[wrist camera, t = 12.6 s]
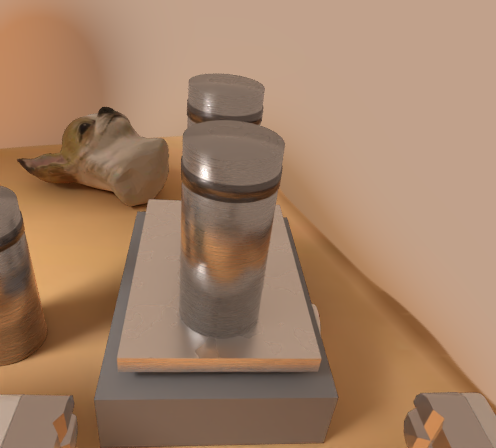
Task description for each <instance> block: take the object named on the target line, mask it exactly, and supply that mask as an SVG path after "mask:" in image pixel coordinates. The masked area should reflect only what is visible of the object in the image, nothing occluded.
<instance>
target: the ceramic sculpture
mask: <svg viewBox="0 0 496 448" xmlns="http://www.w3.org/2000/svg"><path fill="white" fill-rule="evenodd" d="M168 158H169V154H168V145H167V143H166V141H165V140H164V139H161V138H144V137H140V136H139V135H138V134H137V132H136V131H135V130H134V129H133V128H132V126H131V124H130V122H129V120H128V118H127V117H126V116H124V115H123V114H121V113H119V112H116V111H114V110H113V109H112V108H109V107H102V108H101V109H100V110H99V113H97V114H90V115H88V116H84V117H80V118H78V119H76V120H74V121H72V122H71V123H70V124H69V125H68V127H67V128H66V130H65V131H64V134H63V138H62V149H61V151H60V153H57V154H51V153H49V154H45V155H42V156H39V157H37V158H35V159H17V161H18V162H19V163H20V164H21V165H22V166H23V167H24V168H25V169H26V170H27V171H28V172H29V173H31V174H32V175H34V176H36V177H38V178H39V179H41V180H44V181H46V182H51V183H76V182H77V183H80V184H83V185H86V186H90V187H94V188H98V189H104V190H108V191H112V192H114V194H115V195H116V196H117V197H118V198H119V199H120V201H121V202H122V203H124V204H125V205H127V206H135V205H139V204H146V203H148V200H149V199H154V198H155V197H156V196H157V194H158V193H159V192H160V191H161V189H162V188H163V186H164V183H165V181H166V179H167V176H168V172H169V165H168Z"/></svg>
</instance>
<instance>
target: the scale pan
mask: <svg viewBox="0 0 496 448" xmlns="http://www.w3.org/2000/svg"><path fill="white" fill-rule="evenodd" d="M180 245H181V201H179V200H156V199H149V200H148V205H147V210H146V215H145V220H144V225H143V230H142V235H141V240H140V245H139V250H138V255H137V260H136V265H135V270H134V275H133V280H132V285H131V290H130V295H129V300H128V305H127V310H126V315H125V320H124V325H123V330H122V335H121V340H120V345H119V350H118V355H117V366H118V372H318V369H319V366H320V362H321V355H320V351H319V348H318V344H317V340H316V337H315V333H314V329H313V326H312V322H311V318H310V315H309V311H308V307H307V304H306V300H305V296H304V293H303V289H302V285H301V282H300V278H299V274H298V271H297V267H296V263H295V260H294V256H293V252H292V249H291V245H290V241H289V238H288V234H287V230H286V227H285V223H284V219H283V215H282V212H281V208H280V205H276V206H275V212H274V219H273V225H272V232H271V238H270V245H269V251H268V258H267V264H266V271H265V277H264V284H263V290H262V297H261V303H260V310H259V316H258V319H257V321H256V323H255V324H254V326H253V327H252V328H251V329H250V330H248V331H247V332H245V333H243V334H241V335H239V336H236V337H232V338H224V339H218V338H210V337H206V336H203V335H200V334H198V333H196V332H194V331H193V330H191V329H190V328H189V327H187V326H186V324H185V323H184V322H183V320H182V319H181V316H180V313H179V290H180Z"/></svg>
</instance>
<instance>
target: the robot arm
mask: <svg viewBox="0 0 496 448" xmlns="http://www.w3.org/2000/svg"><path fill="white" fill-rule="evenodd" d="M414 405H415V407H416V408H415V409H413V410H412V411H410V412H408V414H407V416H406V418H405V421H404V436H405V441H406V444H407V447H408V448H496V415H495V413H494V412H493V410H492V408H491V407H490V405H489V403H488V402H487V400H486V399H485V397H484V396H483V395H481V394H480V393H457V392H447V393H420V394H419V395H417V396H416V398H415V400H414ZM73 408H74V400H73V395H24V394H18V395H0V448H75V447H76V440H77V417H76V416H75V415H74V414H73V413H72V412H73Z"/></svg>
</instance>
